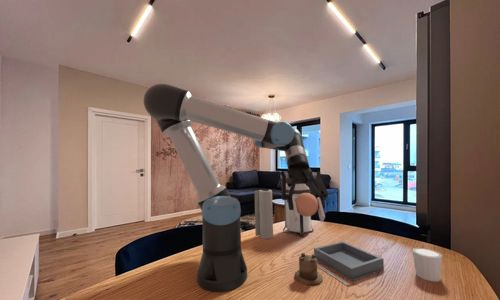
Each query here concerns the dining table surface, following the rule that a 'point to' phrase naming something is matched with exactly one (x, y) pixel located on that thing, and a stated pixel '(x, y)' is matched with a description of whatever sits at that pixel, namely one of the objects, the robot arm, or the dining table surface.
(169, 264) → the dining table surface
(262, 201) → the gray grooved column
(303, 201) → the ball
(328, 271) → the line
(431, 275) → the white short cylinder
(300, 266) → the tee
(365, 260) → the tray
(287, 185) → the coffee press
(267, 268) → the dining table surface
